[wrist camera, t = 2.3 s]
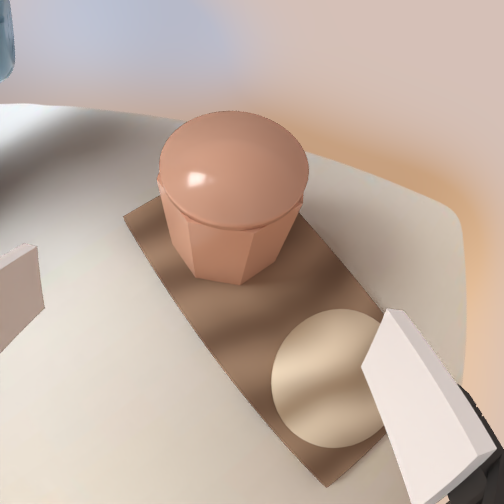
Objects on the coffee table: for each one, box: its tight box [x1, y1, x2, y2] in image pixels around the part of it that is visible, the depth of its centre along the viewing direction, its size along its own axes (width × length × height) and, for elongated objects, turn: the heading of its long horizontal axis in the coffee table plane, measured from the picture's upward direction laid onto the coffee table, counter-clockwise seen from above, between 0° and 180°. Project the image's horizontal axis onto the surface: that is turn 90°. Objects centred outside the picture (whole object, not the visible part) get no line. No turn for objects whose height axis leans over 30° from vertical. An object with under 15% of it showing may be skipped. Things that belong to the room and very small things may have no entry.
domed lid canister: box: [157, 111, 309, 285], centre depth 22 cm, size 9×9×10 cm
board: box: [123, 196, 387, 488], centre depth 25 cm, size 30×14×1 cm, turn 37°
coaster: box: [271, 309, 384, 448], centre depth 23 cm, size 12×12×1 cm
